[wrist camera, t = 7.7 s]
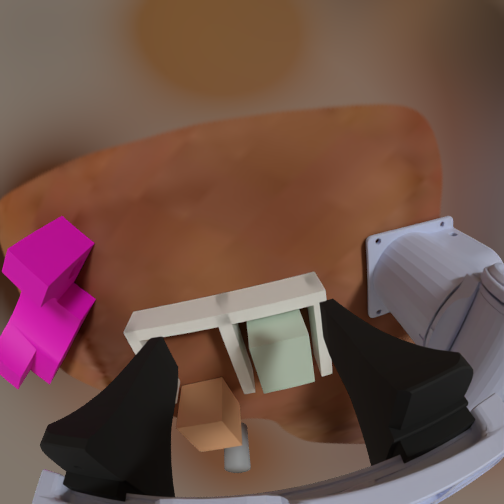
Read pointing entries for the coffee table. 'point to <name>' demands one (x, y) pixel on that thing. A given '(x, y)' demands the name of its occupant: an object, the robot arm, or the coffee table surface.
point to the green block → (281, 351)
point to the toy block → (44, 301)
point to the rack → (236, 319)
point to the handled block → (214, 422)
